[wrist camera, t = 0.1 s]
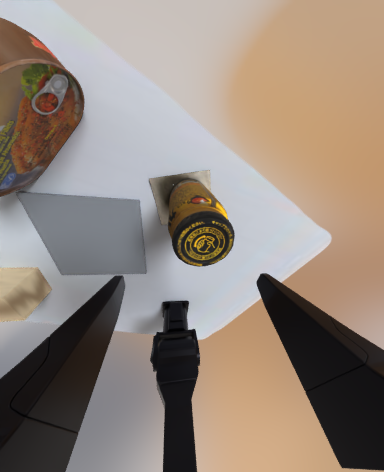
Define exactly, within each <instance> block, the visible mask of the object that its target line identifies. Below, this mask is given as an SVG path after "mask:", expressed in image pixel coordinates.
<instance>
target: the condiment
mask: <svg viewBox="0 0 384 472" xmlns="http://www.w3.org/2000/svg"><path fill="white" fill-rule="evenodd" d="M149 180H150V184H151V187H152V191H153V194H154V198H155V202H156V205H157V209H158V213H159V217H160V221H161V224H162V225H166V224H168V230H169V233H170V236H171V238H172V246H173V249H174V252H175V254H176V255H177V257H178V258H179V259H180V260H182V261H183V262H184V263H186V264H189V265H193V266H208V265H211V264H215V263H216V262H218V261H220V260H222V259H223V258H225V257H226V255H227V254H228V253H229V252H230V250H231V249H232V247H233V242H234V236H235V235H234V230H233V227H232V225H231V223H230V222H229V220H228V217H227V213H226V211H225V209H224V208H223V206H222V205H221V204H220V202H219V201H218V200H217V199H216V198H215V197H214V195H213V194H212V193H211V188H210V170H206V171H198V172H191V173H184V174H178V175H171V176H163V177H158V178H151V179H149ZM173 184H174V185H173Z"/></svg>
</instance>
